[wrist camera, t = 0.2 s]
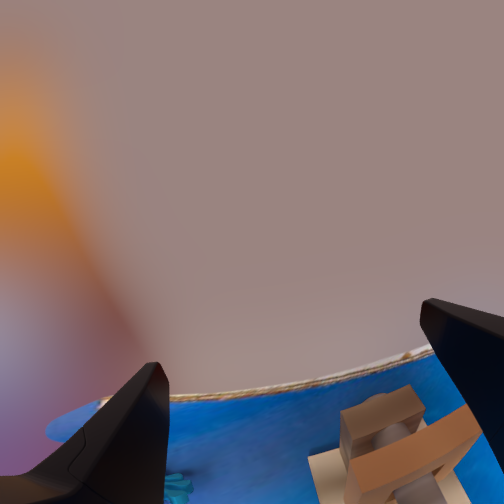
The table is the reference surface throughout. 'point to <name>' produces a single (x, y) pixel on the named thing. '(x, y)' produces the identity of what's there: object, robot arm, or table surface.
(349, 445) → the pipe rig
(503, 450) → the robot arm
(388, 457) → the collar
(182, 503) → the gear
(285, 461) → the table surface
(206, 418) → the table surface
